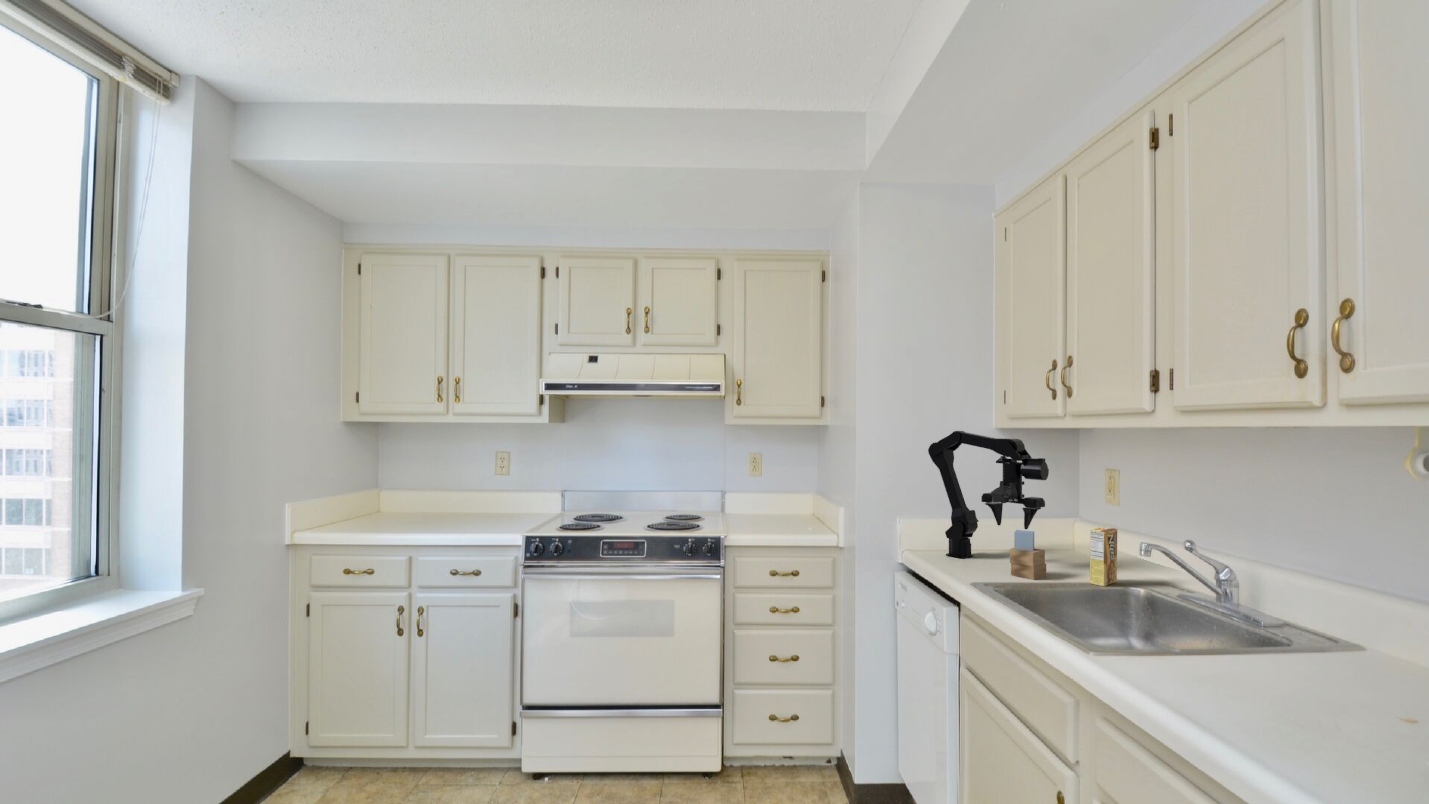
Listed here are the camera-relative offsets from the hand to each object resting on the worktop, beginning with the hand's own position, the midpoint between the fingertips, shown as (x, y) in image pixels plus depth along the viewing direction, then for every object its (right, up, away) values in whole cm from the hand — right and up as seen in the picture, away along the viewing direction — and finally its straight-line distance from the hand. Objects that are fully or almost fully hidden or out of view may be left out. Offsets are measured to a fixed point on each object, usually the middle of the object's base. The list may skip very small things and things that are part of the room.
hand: (1012, 527), depth 219 cm
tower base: (-2, -12, -15) cm, 19 cm away
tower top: (-2, -8, -15) cm, 17 cm away
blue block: (-2, -4, -14) cm, 14 cm away
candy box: (+16, -12, -23) cm, 31 cm away
